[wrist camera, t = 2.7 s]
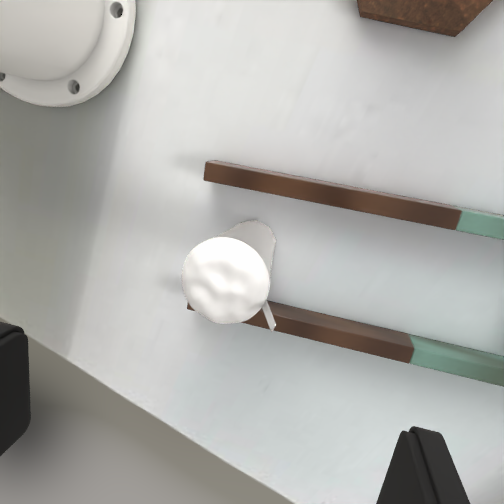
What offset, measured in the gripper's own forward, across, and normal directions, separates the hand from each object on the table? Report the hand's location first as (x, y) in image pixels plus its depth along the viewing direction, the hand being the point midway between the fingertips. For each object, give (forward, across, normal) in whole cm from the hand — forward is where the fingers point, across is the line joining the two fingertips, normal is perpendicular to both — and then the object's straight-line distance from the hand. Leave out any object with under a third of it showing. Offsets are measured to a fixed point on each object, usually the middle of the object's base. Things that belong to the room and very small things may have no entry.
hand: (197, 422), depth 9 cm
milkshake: (+18, +2, +1) cm, 18 cm away
